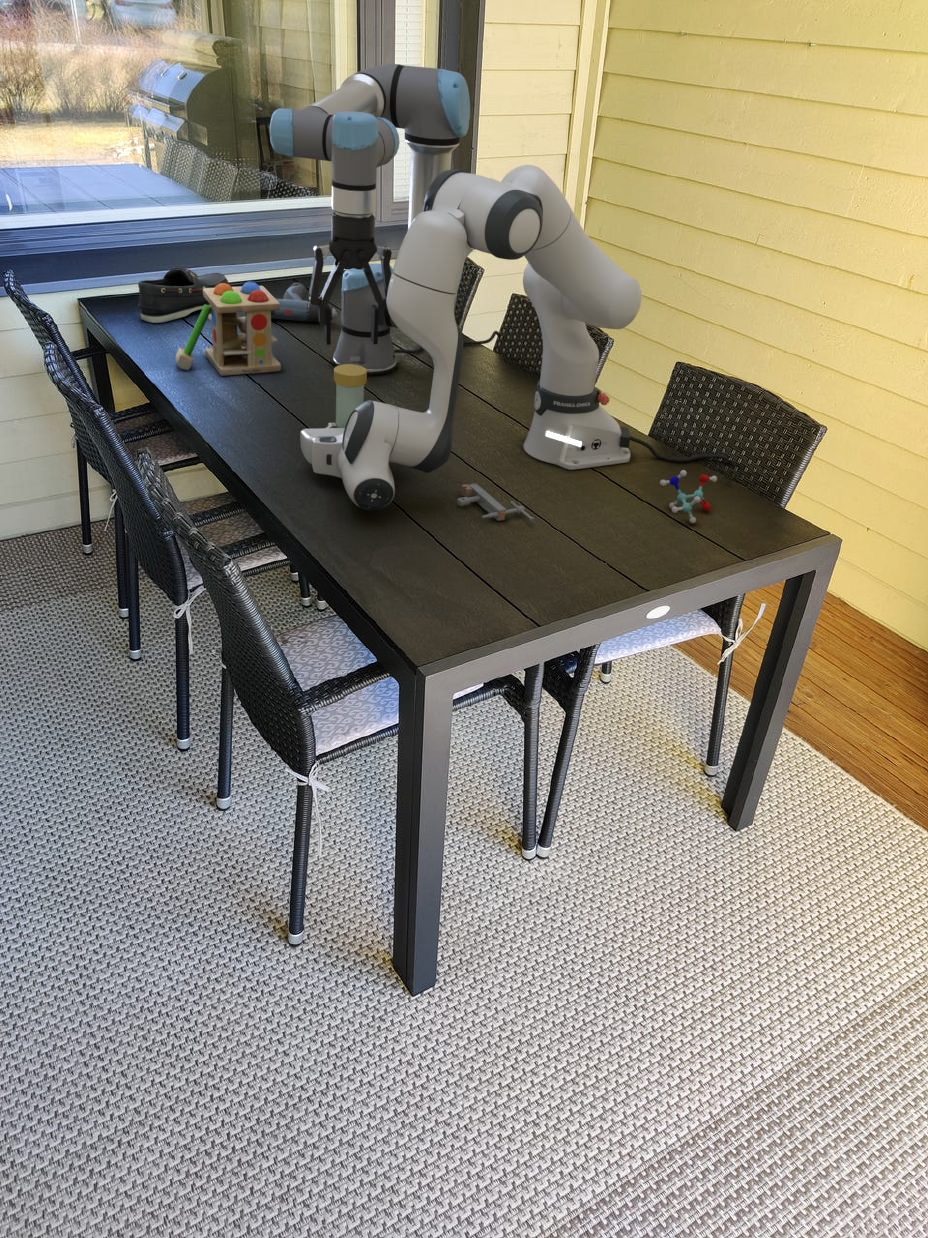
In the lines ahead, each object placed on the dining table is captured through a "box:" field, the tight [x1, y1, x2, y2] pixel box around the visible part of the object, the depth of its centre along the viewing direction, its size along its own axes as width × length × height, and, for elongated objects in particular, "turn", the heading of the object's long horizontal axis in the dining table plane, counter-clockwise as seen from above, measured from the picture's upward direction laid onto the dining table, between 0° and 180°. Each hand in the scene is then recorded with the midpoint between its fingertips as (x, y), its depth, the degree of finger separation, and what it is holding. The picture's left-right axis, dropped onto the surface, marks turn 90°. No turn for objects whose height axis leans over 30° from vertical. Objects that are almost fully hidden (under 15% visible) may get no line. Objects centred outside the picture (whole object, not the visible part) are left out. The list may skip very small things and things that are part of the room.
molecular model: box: [659, 469, 718, 524], centre depth 185 cm, size 12×10×10 cm
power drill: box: [271, 282, 338, 322], centre depth 265 cm, size 5×19×20 cm
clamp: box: [456, 483, 535, 523], centre depth 180 cm, size 15×2×10 cm
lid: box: [333, 364, 368, 387], centre depth 186 cm, size 6×6×2 cm
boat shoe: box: [137, 266, 230, 324], centre depth 260 cm, size 13×33×10 cm, turn 147°
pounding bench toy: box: [174, 281, 282, 377], centre depth 225 cm, size 23×14×18 cm, turn 116°
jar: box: [335, 383, 365, 428], centre depth 190 cm, size 5×5×17 cm
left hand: (350, 341), depth 182 cm, fingers open, 8 cm apart
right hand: (348, 425), depth 192 cm, fingers closed on jar, 5 cm apart
